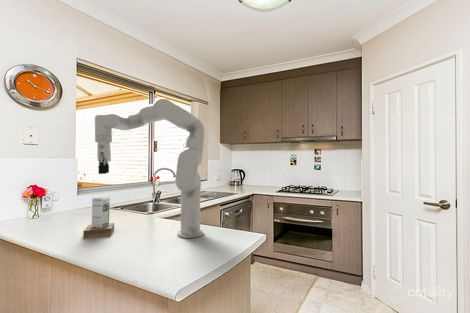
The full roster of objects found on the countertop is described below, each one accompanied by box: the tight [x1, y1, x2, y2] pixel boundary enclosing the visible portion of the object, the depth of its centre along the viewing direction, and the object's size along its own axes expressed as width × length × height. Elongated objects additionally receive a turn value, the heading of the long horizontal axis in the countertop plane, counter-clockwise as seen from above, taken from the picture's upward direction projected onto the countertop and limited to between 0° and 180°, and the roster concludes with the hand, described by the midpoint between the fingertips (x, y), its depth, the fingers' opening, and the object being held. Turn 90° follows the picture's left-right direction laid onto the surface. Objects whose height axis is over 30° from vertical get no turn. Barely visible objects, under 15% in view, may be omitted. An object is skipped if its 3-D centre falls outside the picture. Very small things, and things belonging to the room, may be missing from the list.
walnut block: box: [82, 222, 115, 239], centre depth 130 cm, size 12×12×4 cm
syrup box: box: [91, 196, 111, 228], centre depth 131 cm, size 6×6×14 cm
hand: (104, 173), depth 130 cm, fingers open, 9 cm apart
